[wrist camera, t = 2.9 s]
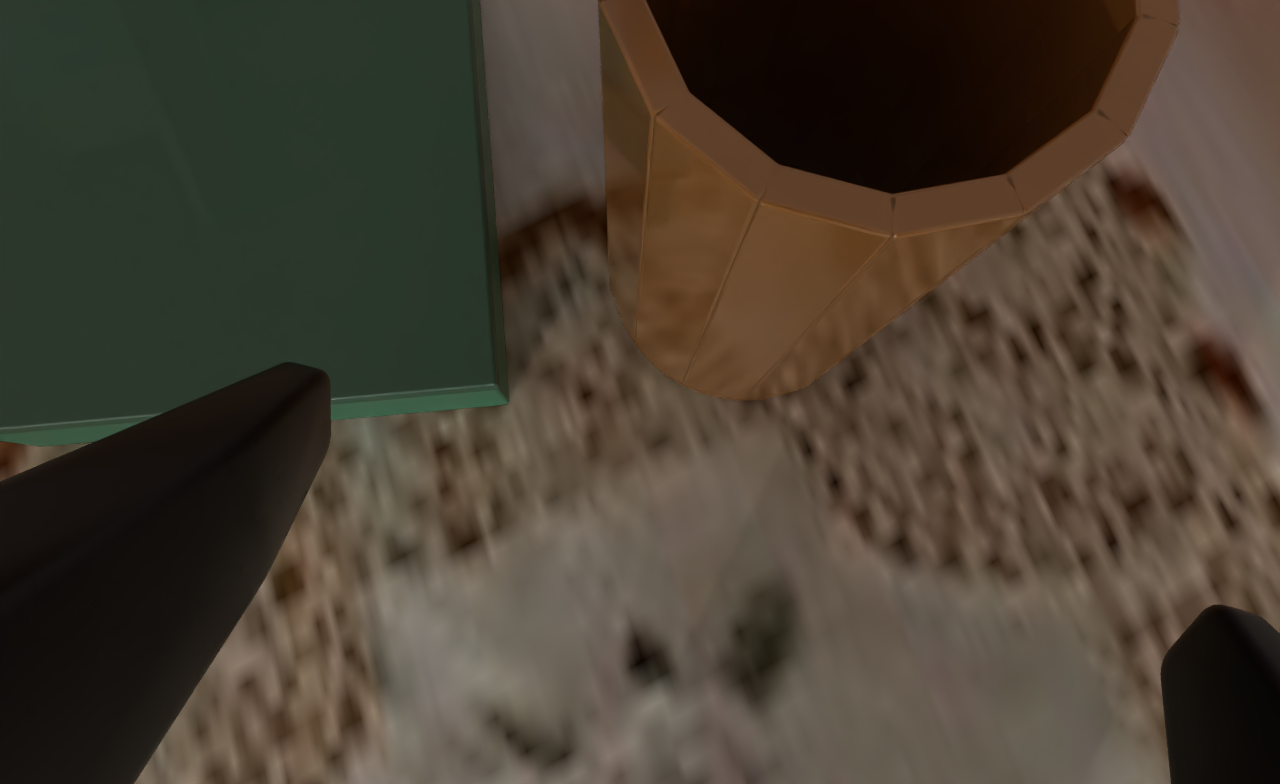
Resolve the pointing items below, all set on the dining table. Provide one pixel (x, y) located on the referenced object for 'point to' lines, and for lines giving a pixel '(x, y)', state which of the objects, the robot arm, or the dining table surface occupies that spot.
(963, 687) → the dining table surface
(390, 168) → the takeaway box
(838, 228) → the brown hollow cylinder
